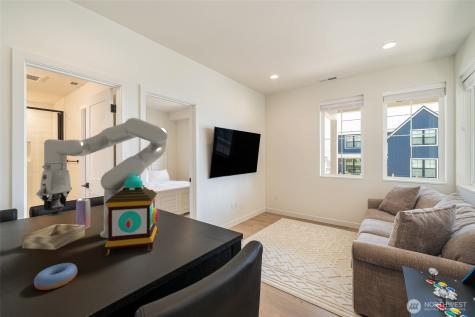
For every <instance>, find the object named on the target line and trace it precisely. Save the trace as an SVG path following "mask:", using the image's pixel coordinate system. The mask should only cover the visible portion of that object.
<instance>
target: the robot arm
mask: <svg viewBox="0 0 475 317" xmlns="http://www.w3.org/2000/svg"><path fill="white" fill-rule="evenodd" d="M135 138H138V139H139V138H140V139H142V140H145V141H148V142H149V144H148V145H147V146H145V147H144V148H142V149H141V150H140V151H138V152H137V153H135V154H134V155H132V156H129V157H127V158H126V159H124V160H123V161H121V162H119V163H118V164H117V165H116V166H114V167H112V168H110V170H108V171H106V172H104V174H103V175H102V177H101V179H100V186H101V187H102V189H103V190H104V191H103V192H104V193H103V230H101V232H100V233H99V236H100V237H101V238H103V239H108V223H107V216H108V207H107V206H106V204H105V202H106V201H107V200H108V199H109V198H111V196H113V195H115V194H116V193H118V192H120V191H121V190H123V188H124V187H125V181H126V180H127V179H128V178H129V177H131V176H137V177H139V176H140V175H142V174H143V173H144V171H146V169H147V168H148V167H150V166H151V165H152V164H154V163H155V162H156V161H158V159H160V158H161V157H162V156H163V155H164V153H165V151H166V148H167V140H168V132H167V130H166V129H165V128H163V127H162V126H159V125H156V124H153V123H151V122H148V121H145V120H143V119H140V118H137V117H130V118H128V119H127V120H126V121H125V122H123V123H120V124H116V125H113V126H110V127H107V128H105V129H103V130H102V131H101V132H99V133H98V134H96V135H93V136H91V137H88V138H85V139H82V140H80V139H65V140H63V139H46V140H45V141H44V142H43V165H42V167H41V168H42V169H43V171H42V173H41V178H40V186H39V187H40V189H39V190H38V191H37V192H36V194H35V195H36V196H37V197H38V198H40V200H42V201H43V210H44V211H48V210H52V201H51V198H52V195H53V194H57V193H60V197H61V198H60V203H61V204H62V205H64V206H63V207H66V206H67V197H68V196H69V194H70V192H71V191H72V190H73V187H72V186H71V176H70V171H69V169H68V157H84V156H87V155H91V154H94V153H96V152H99V151H101V150H105V149H107V148H111V147H114V146H115V145H119V144H121V143H124V142H126V141H129V140H132V139H135Z"/></svg>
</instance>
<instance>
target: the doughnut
mask: <svg viewBox="0 0 475 317" xmlns="http://www.w3.org/2000/svg"><path fill="white" fill-rule="evenodd" d="M77 275H78V267H77V265H76V264H75V263H72V262H66V263H65V262H63V263H59V264H55V265H51V266H49V267H47V268H45V269H43V270H41V271H40V272H39V273H37V274H36V275H35V278H34V279H33V285H34V288H35V289H37V290H38V291H39V290H40V291H48V290H54V289H58V288H61V287H62V286H65V285H67V284H69V283H70V282H72V281H73V280H74V279H75V278H76V276H77Z"/></svg>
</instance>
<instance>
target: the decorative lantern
mask: <svg viewBox="0 0 475 317" xmlns="http://www.w3.org/2000/svg"><path fill="white" fill-rule="evenodd" d="M157 195H158V193H157V192H156V191H155V190H153V189H149V188H147V187H146V186H145V185H144V183H143V180H142V179H141V178H140V177H139V176H138V177H137V176H131V177H129V178H128V179H127V180H126V181H125V187H124V188H123V190H121V191H120V192H118V193H116V194H115V195H113V196H111V198H109V199H108V200H107V201H106V202H105V204H106V206H107V207H108V216H107V223H108V238H107V241H106V242H105V245H104V246H103V254H104V255H105V256H108V255H109V254H110V250H111V249H117V248H126V247H137V246H148V251H152V250H154V241H155V239H156V236H157V235H158V227H157V225H156V223H157V222H158V220H159V210H158V208H157V207H156V206H155V205H156V204H155V203H156V202H155V201H156V198H157Z"/></svg>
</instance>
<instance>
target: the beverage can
mask: <svg viewBox="0 0 475 317" xmlns="http://www.w3.org/2000/svg"><path fill="white" fill-rule="evenodd" d="M75 210H76V211H75V221H76V222H75V225H85V230H86V229H88V228H90V227H91V200H90V198H89V197H88V198H78V199H76V202H75Z"/></svg>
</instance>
